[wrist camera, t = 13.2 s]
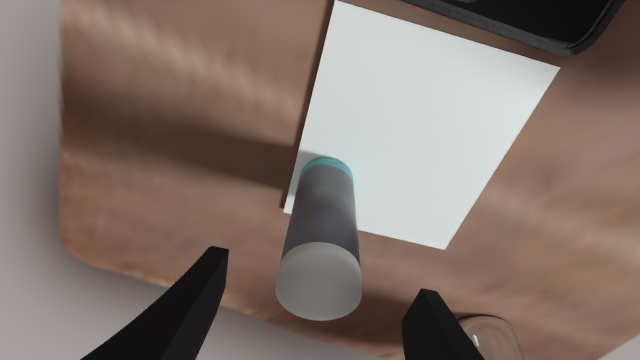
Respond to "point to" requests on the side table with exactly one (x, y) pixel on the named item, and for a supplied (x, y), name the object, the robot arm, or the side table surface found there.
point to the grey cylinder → (321, 245)
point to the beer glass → (492, 337)
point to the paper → (414, 120)
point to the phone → (534, 20)
